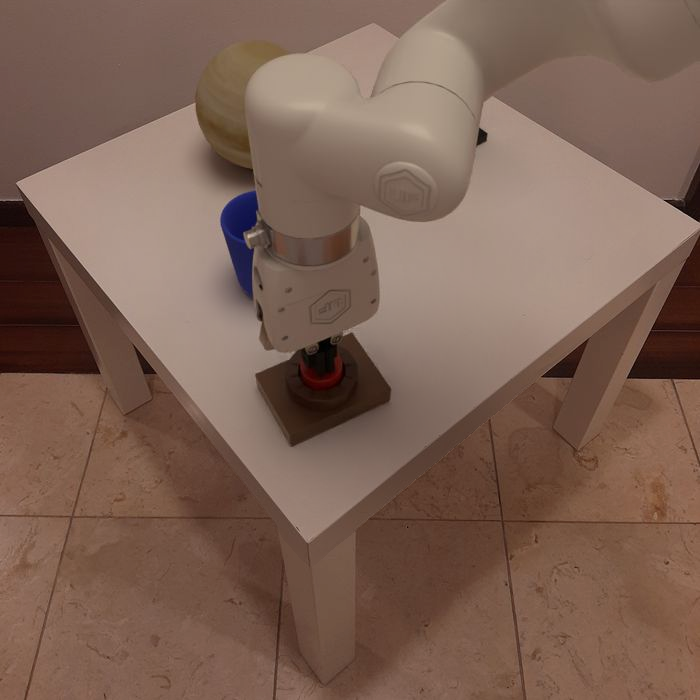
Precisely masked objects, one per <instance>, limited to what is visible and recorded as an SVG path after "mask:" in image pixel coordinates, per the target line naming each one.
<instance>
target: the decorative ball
mask: <svg viewBox="0 0 700 700" xmlns="http://www.w3.org/2000/svg"><path fill="white" fill-rule="evenodd" d="M289 54H293V52H291V51H289V50H288V49H286V48H285V47H282V46H280V45H278V44H276V43H273V42H270V41H266V40H257V39H256V40H255V39H252V40H242V41H239V42H236V43H233V44H231V45H229V46H226V47H224V48H223V49H221V50H220V51H219V52H218V53H216V54H215V55H214V56H213V57H212V58H211V59H210V60H209V61H208V63H207V64H206V66H205V67H204V68H203V70H202V72H201V75H200V77H199V79H198V83H197V86H196V90H195V96H194V99H195V100H194V101H195V114H196V119H197V122H198V125H199V129H200V131H201V133H202V135H203V136H204V138H205V141H207V142H208V144H209V145H210V147H212V148H213V150H214V151H215V152H216V153H217V154H218V155H219V156H221V157H222V158H224V159H226V160H227V161H228V162H231V163H232V164H235V165H237V166H239V167H243V168H246V169H250V170H251V169H252V170H253V165H252V157H251V150H250V143H249V136H248V128H247V121H246V114H245V100H244V98H245V92H246V87H247V84H248V82H249V80H250V78H251V77H252V75H253V74H254V73H255V72H256V70H257V69H259V68H260V67H261V66H262V65H264V64H266V63H267V62H269V61H271V60H273V59H275V58H278V57H281V56H285V55H289Z"/></svg>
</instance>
